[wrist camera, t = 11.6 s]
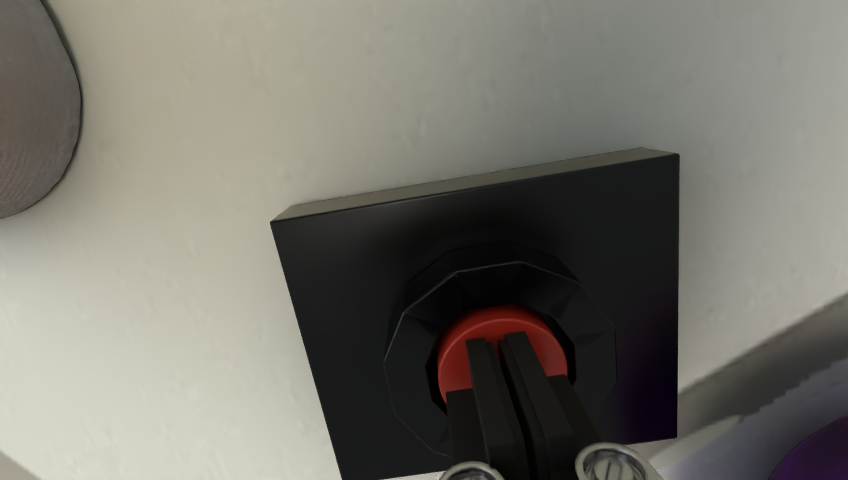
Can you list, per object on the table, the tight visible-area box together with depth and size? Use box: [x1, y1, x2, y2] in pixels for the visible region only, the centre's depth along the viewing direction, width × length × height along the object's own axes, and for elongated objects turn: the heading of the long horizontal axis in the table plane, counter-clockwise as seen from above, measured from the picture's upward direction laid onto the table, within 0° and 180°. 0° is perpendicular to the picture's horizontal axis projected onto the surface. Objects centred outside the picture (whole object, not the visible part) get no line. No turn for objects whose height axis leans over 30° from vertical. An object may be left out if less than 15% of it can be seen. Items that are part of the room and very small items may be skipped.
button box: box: [270, 147, 680, 480], centre depth 14 cm, size 12×10×4 cm
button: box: [436, 304, 567, 403], centre depth 13 cm, size 4×4×2 cm
